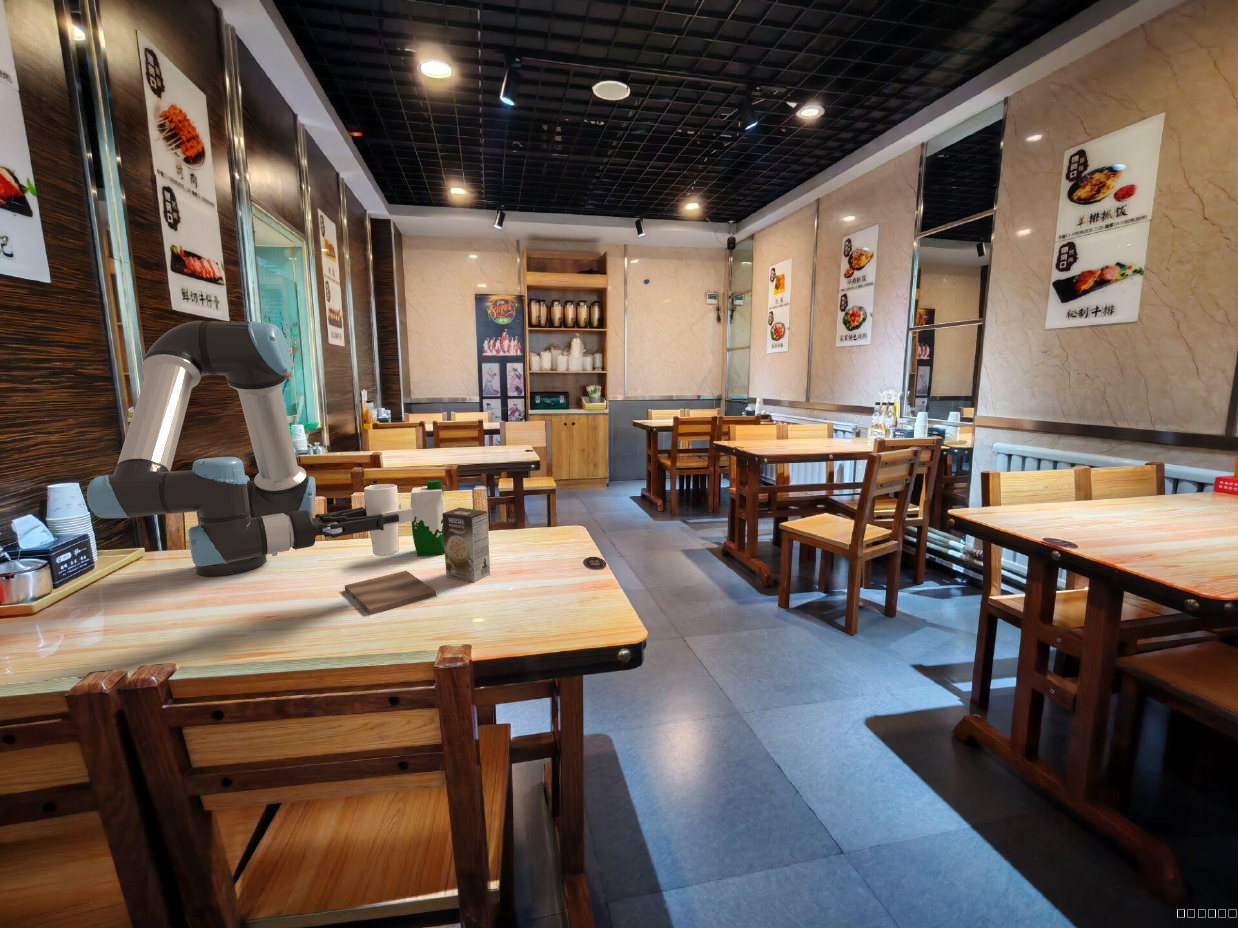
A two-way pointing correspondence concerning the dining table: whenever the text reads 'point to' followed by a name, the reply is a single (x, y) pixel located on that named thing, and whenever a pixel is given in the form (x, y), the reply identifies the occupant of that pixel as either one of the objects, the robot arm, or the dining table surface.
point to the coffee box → (466, 544)
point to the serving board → (389, 591)
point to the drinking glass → (376, 503)
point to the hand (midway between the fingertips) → (406, 511)
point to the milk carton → (428, 518)
